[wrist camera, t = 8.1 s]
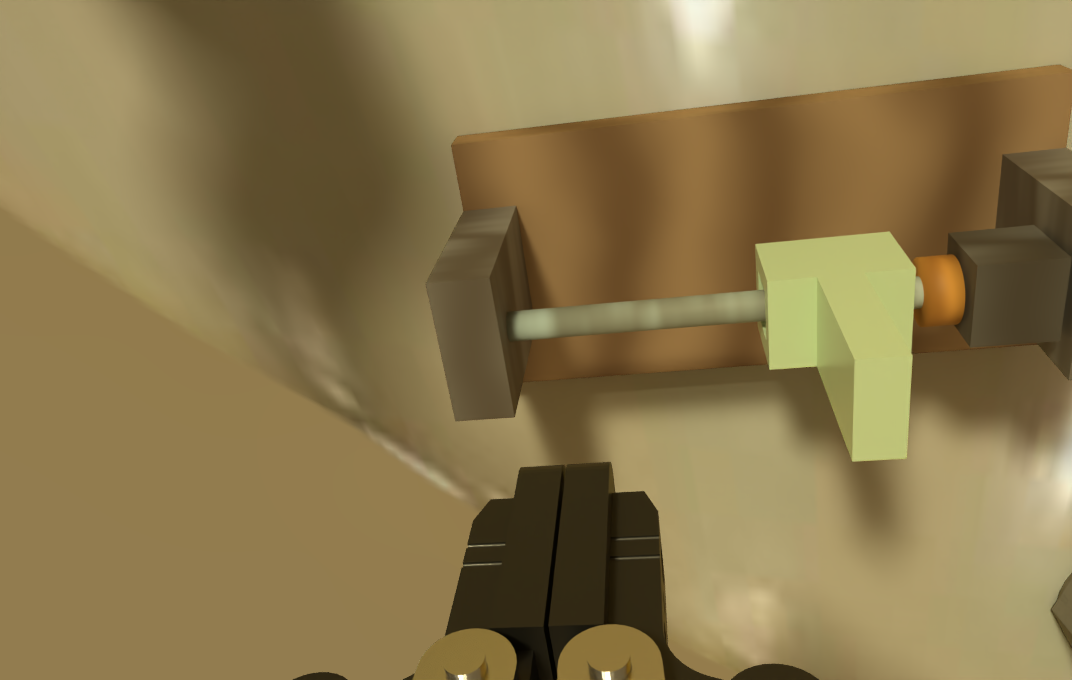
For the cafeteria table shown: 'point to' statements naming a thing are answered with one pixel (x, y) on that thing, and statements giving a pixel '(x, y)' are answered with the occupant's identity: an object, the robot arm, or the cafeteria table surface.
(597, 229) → the lead screw stage
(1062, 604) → the coffeepot
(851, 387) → the pale green tee block
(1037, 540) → the cafeteria table surface
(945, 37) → the cafeteria table surface
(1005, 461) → the cafeteria table surface
